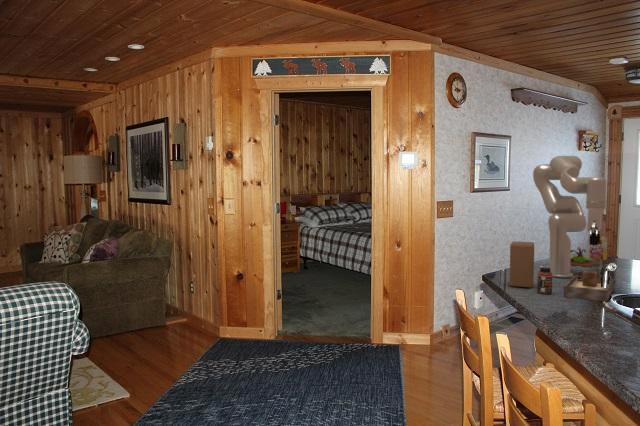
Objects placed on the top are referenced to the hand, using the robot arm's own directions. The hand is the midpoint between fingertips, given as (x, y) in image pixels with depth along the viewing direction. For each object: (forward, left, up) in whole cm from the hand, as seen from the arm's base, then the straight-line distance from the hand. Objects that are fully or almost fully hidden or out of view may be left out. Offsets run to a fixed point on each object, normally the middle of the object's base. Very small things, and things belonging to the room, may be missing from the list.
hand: (594, 243), depth 222 cm
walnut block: (-1, -8, -18) cm, 19 cm away
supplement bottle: (-17, -20, -21) cm, 33 cm away
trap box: (-1, -9, -20) cm, 23 cm away
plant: (-14, +63, -21) cm, 68 cm away
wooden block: (-29, -9, -21) cm, 37 cm away
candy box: (-7, +83, -21) cm, 85 cm away
